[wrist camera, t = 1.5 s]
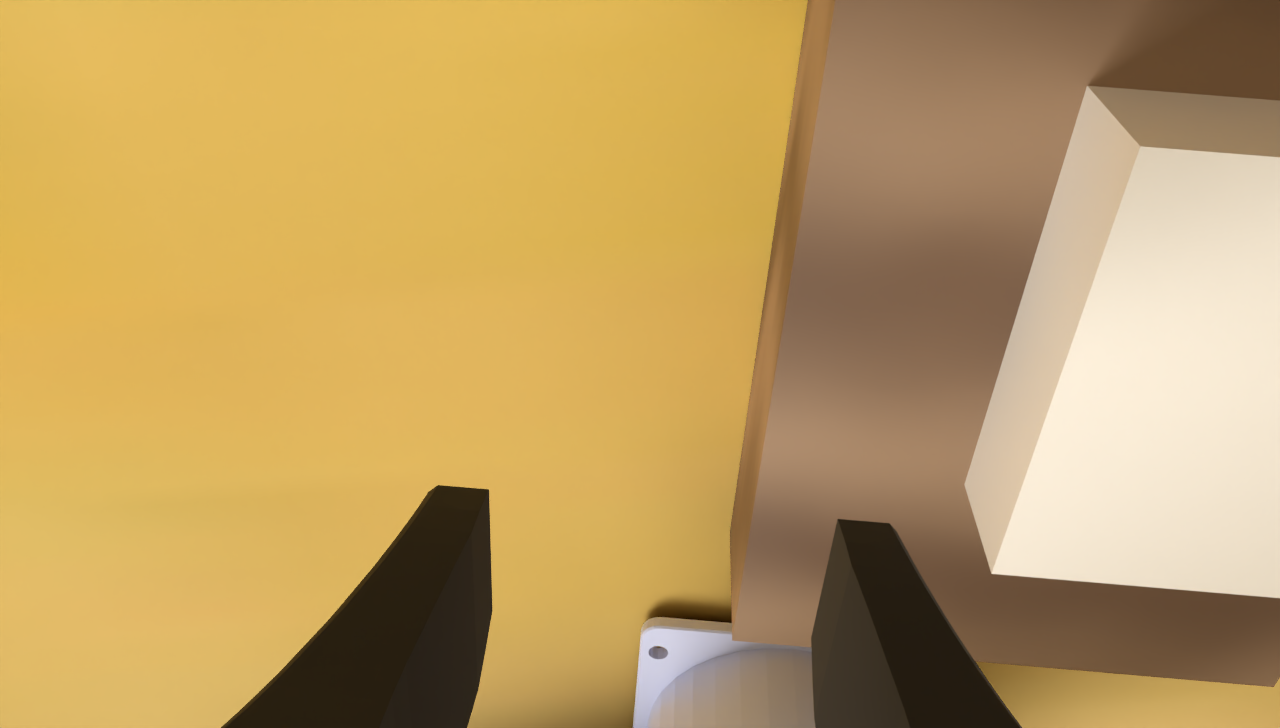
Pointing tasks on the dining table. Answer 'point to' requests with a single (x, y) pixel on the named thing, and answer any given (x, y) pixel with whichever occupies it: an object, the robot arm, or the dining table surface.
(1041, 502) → the cream tile
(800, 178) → the walnut riser
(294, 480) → the dining table surface
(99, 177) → the dining table surface
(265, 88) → the dining table surface
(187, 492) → the dining table surface
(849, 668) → the robot arm
